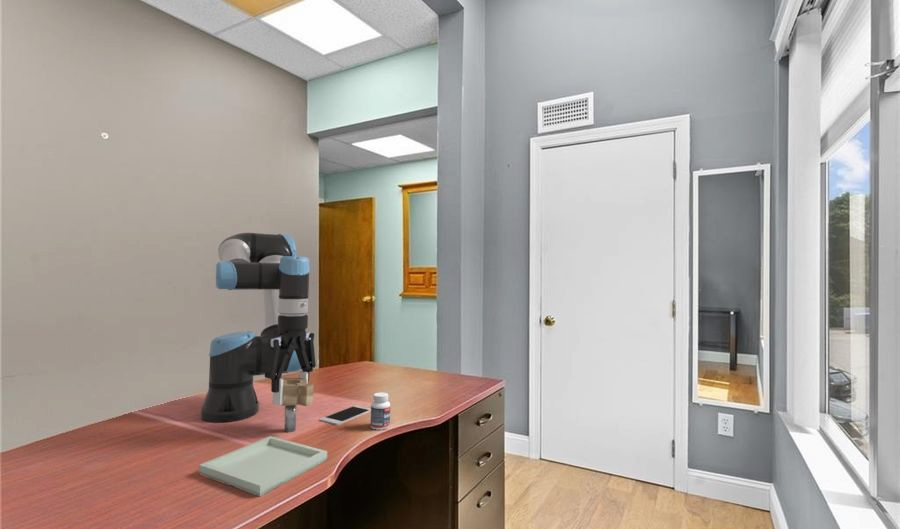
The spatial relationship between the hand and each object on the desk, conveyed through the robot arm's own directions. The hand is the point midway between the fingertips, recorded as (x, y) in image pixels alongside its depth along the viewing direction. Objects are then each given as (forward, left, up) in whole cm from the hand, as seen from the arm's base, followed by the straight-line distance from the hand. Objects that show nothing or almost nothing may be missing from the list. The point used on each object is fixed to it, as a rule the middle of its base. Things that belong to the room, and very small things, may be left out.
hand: (290, 399), depth 116 cm
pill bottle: (+19, +14, -8) cm, 25 cm away
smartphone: (+5, +17, -9) cm, 20 cm away
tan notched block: (+1, 0, 0) cm, 1 cm away
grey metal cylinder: (0, 0, -8) cm, 8 cm away
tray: (+12, -18, -8) cm, 23 cm away
